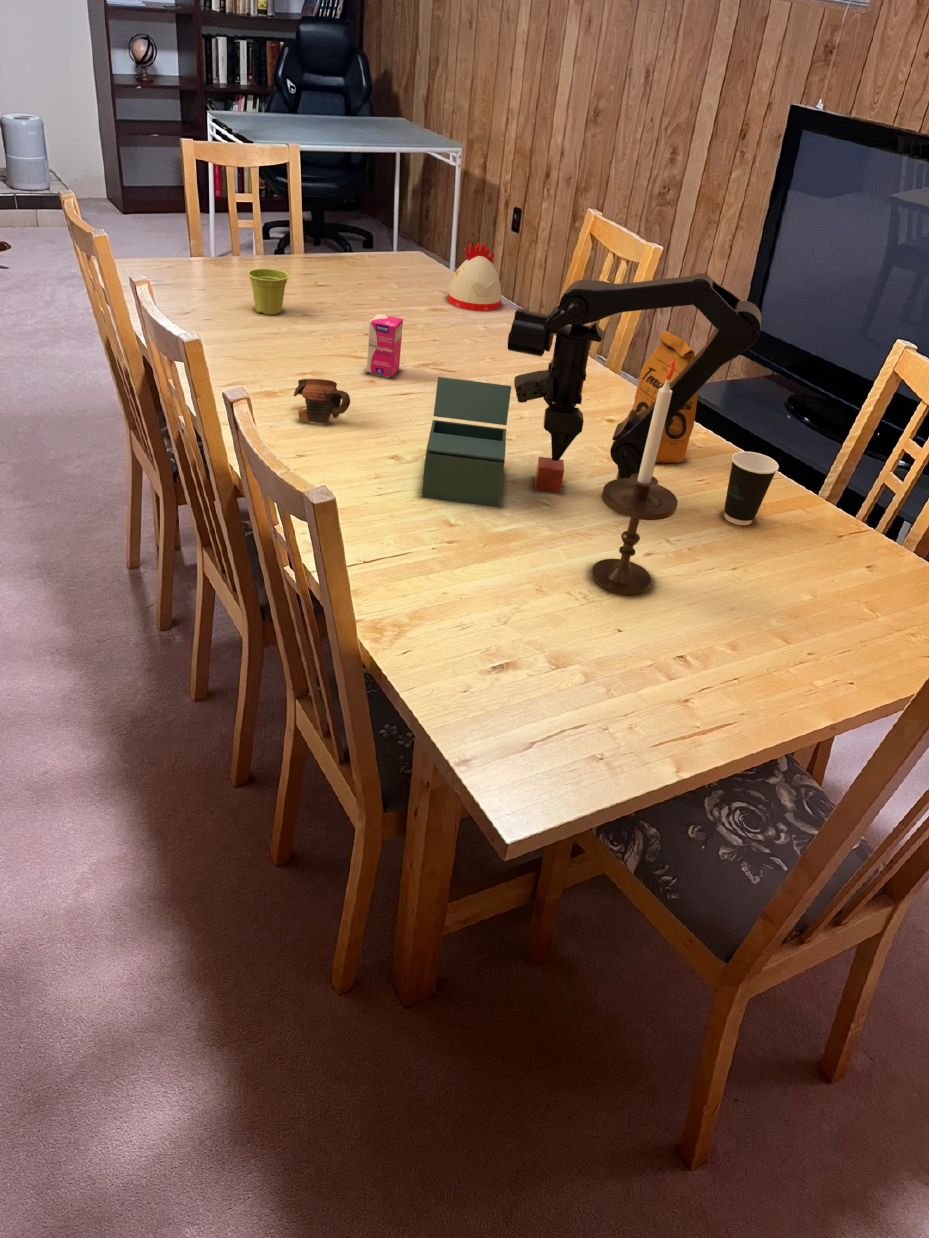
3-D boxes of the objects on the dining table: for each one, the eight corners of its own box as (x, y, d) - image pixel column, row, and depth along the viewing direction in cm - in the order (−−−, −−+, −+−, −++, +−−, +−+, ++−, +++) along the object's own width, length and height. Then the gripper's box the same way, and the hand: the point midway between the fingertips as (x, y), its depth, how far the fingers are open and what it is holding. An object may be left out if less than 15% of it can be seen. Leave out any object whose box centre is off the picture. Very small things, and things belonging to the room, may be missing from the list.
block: (535, 490, 171) (538, 467, 169) (534, 478, 175) (538, 456, 172) (559, 493, 171) (564, 470, 169) (559, 481, 175) (563, 459, 172)
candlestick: (609, 553, 156) (658, 338, 136) (668, 581, 151) (728, 362, 131) (571, 577, 149) (617, 353, 129) (632, 607, 143) (689, 379, 124)
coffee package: (644, 465, 185) (671, 352, 172) (619, 437, 194) (643, 328, 182) (691, 465, 187) (721, 353, 175) (664, 437, 197) (691, 329, 185)
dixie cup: (710, 521, 169) (727, 463, 163) (720, 503, 175) (736, 447, 169) (756, 534, 167) (774, 476, 160) (764, 516, 173) (782, 459, 167)
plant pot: (243, 305, 235) (243, 268, 230) (282, 304, 238) (282, 267, 234) (254, 318, 228) (253, 280, 223) (293, 317, 232) (293, 279, 227)
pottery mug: (283, 422, 184) (284, 377, 183) (309, 428, 193) (310, 386, 192) (339, 421, 179) (340, 376, 179) (363, 428, 188) (364, 384, 188)
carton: (421, 496, 164) (426, 449, 160) (428, 461, 176) (433, 415, 171) (498, 506, 165) (505, 459, 160) (500, 470, 176) (506, 424, 171)
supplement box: (365, 374, 207) (368, 321, 200) (374, 365, 212) (377, 312, 205) (391, 379, 206) (395, 326, 200) (399, 370, 211) (403, 318, 204)
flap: (438, 376, 171) (438, 377, 171) (433, 416, 171) (433, 416, 171) (511, 386, 171) (511, 386, 171) (506, 425, 171) (506, 425, 172)
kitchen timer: (441, 293, 260) (447, 234, 252) (490, 294, 264) (497, 236, 256) (456, 310, 250) (463, 249, 241) (507, 311, 254) (515, 251, 245)
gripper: (521, 337, 168) (509, 421, 177) (520, 376, 153) (507, 466, 161) (585, 345, 168) (570, 429, 177) (591, 384, 153) (574, 474, 161)
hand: (554, 448), depth 169 cm, fingers open, 9 cm apart
